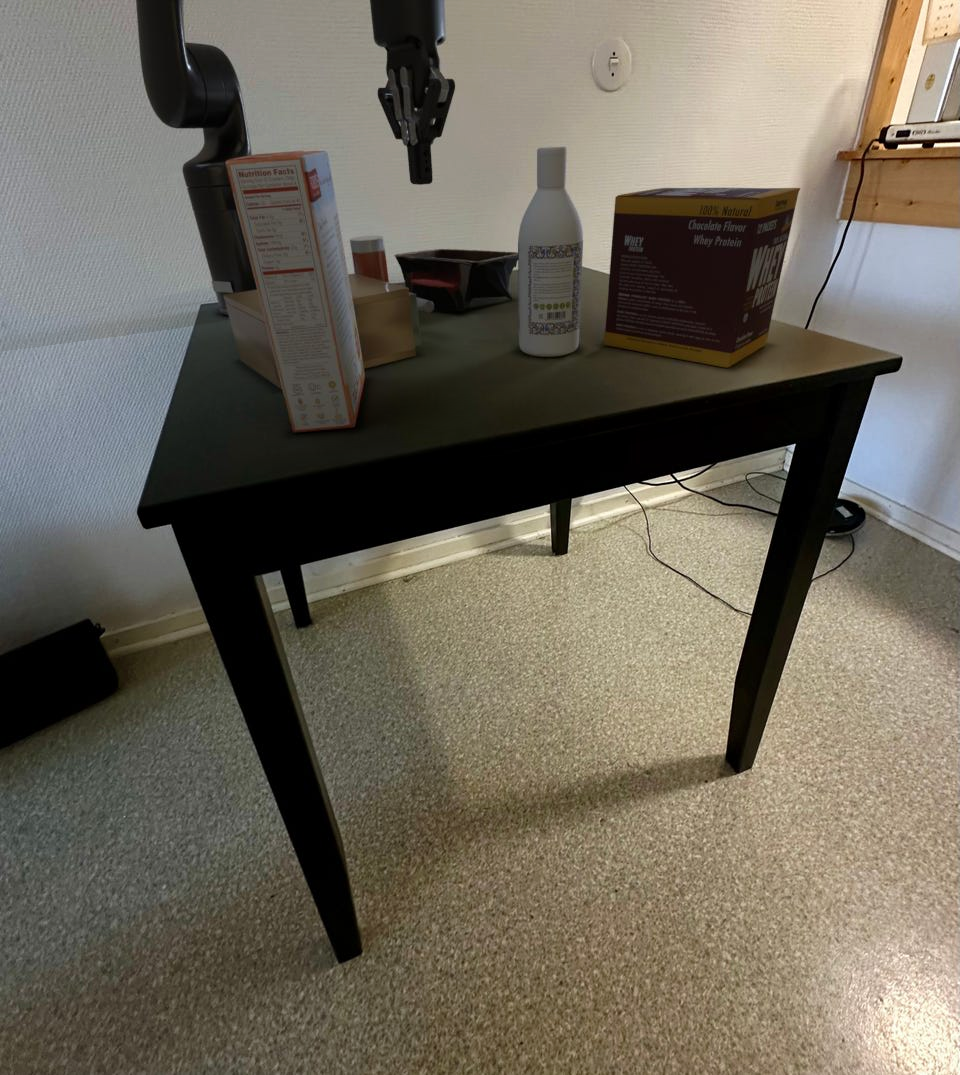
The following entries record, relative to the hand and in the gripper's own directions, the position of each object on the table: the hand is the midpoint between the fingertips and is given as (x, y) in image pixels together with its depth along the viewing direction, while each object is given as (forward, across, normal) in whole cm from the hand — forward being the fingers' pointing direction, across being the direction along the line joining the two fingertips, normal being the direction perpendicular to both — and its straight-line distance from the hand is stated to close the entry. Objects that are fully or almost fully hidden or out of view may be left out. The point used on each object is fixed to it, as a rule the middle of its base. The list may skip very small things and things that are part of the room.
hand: (421, 183), depth 70 cm
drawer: (+16, 0, +11) cm, 20 cm away
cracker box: (+17, -15, +21) cm, 31 cm away
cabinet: (+17, 0, +15) cm, 23 cm away
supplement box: (+17, -26, -18) cm, 36 cm away
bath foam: (+17, -16, -6) cm, 24 cm away
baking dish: (+17, +12, -12) cm, 24 cm away
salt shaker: (+17, +9, +3) cm, 20 cm away
